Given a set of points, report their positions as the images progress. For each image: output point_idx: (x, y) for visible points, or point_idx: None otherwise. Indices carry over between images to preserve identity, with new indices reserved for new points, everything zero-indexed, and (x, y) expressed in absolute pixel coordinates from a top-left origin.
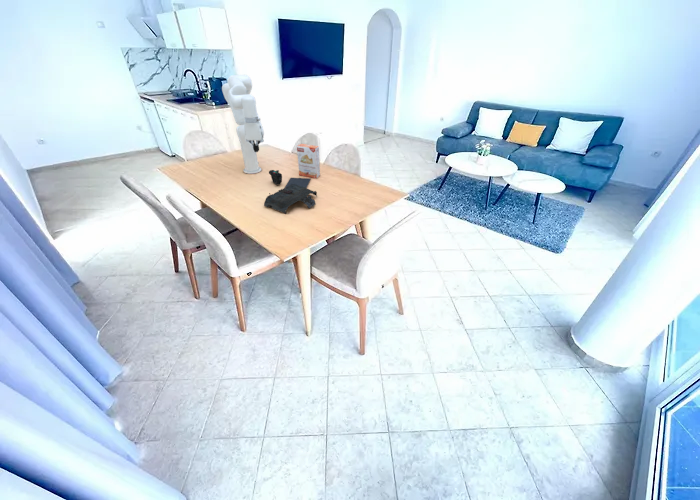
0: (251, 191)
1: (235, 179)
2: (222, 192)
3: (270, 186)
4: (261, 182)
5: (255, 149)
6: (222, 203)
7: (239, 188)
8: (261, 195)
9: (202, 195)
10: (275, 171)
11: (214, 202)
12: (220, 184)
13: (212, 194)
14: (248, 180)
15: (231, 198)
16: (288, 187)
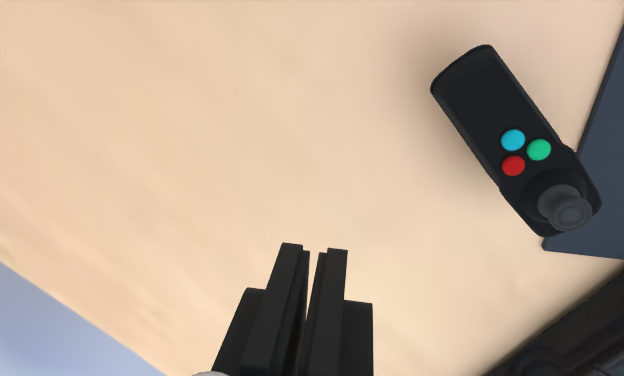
0: (307, 247)
1: (86, 17)
2: (131, 255)
3: (432, 167)
4: (338, 82)
5: (297, 365)
6: (204, 369)
7: (206, 200)
8: (389, 302)
9: (48, 285)
10: (525, 111)
11: (160, 357)
12: (38, 131)
13: (92, 277)
14: (208, 37)
15: (223, 326)
16: (619, 373)
